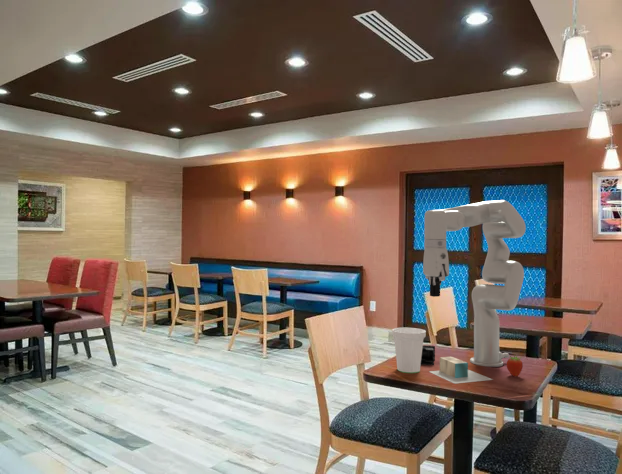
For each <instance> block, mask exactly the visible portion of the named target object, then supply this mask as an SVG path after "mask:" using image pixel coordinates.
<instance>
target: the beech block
mask: <svg viewBox="0 0 622 474" xmlns="http://www.w3.org/2000/svg"><path fill="white" fill-rule="evenodd" d="M468 368H469V363H468V362H467V361H465V360H462V359H459V358H457V357H454V356H441V357H439V371H441V372H443V373H446V374H448V375H450V376H452V377H455V378H462V377H468V370H469V369H468Z"/></svg>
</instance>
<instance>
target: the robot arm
mask: <svg viewBox="0 0 622 474" xmlns="http://www.w3.org/2000/svg"><path fill="white" fill-rule="evenodd" d="M478 225H482V233H483V234H484V237H485V240H486V243H487V247H488V248H487V254H486V257H485V261H484V265H483V266H482V270H481V271H482V272H481V276H482V279H483V281H484V282H486V284H485V283H482V284H478V285H475V286H474V287H473V289H472V291H471V302H472V307H473V318H474V319H473V322H474V323H473V357H470V359H469V362H470V363H471V364H473V365H476V366H480V367H491V368H499V367H502V366H503V365H504V361H503V358H504V359H507V358H509V357H510V354H509V353H508V352H503V353H502V352H501V351H500V318H499V315H498V313H497V312H496V310H497V311H512V310H514V309H515V308H516V307H517V304H518V301H519V298H520V295H521V291H522V286H523V284H524V283H523V282H524V278H525V270H524V267H523V265H522V264H521V262H519V261H516V260H510V255H511V253H510V252H511V251H510V248H509V247H508V244H507V243H506V242H505V240H504V239H519V238H521V237H523V236H524V234H525V233H526V229H527V227H526V223H525V220H524V219H523V217H522V216H521V214H520V213H519V212H518V211H517V209H516V208H515V206H513V205H512V204H511V203H510V202H509V201H507V200H505V199H500V200H485V201H480V202H475V203H470V204H465V205H464V204H463V205H460V206H455V207H449V208H444V209H443V208H442V209H429V210H426V211H425V212H424V243H423V244H424V250H423V251H424V253H423V263H422V269H423V270H422V271H423V275H424V276H425V279H426V280H428V285H429V296H430V297H433V298H434V297H440V296H441V285H442V282H443V281H446V278H447V277H449V275H450V263H449V262H450V261H449V253H448V249H447V232H456V231H457V232H458V231H461V230H462V229H463V228H470V227H475V226H478ZM489 283H491V284H489Z"/></svg>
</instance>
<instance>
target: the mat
mask: <svg viewBox="0 0 622 474" xmlns="http://www.w3.org/2000/svg"><path fill="white" fill-rule="evenodd" d="M428 373H430V374H433V375H435V376H437V377H438V378H441V379H442V380H446V381H448V382H449V383H452V384H453V385H456V384H463V383H465V384H466V383H474V382H483V381H485V382H486V381H493V380H494V379H493V378H490V377H488V376H485V375H482V374H480V373H477V372H476V371H473V370H470V369H468V377H462V378H455V377H452V376H450V375H448V374H446V373H443V372H441V371H440V370H430V371H428Z"/></svg>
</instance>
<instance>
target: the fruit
mask: <svg viewBox="0 0 622 474" xmlns="http://www.w3.org/2000/svg"><path fill="white" fill-rule="evenodd" d="M508 358H509V359H507V361H506V369H507V370H508V372H509V373H510V375H511V376H512V377H515V378H516V377H519V376H520V374H521V373H522V370H523V367H524V365H523V364H524V363H523V361H522V360H521V359H522V356H520V357H518V356H516V355H514V357H513V356H511V355H509V357H508Z"/></svg>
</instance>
